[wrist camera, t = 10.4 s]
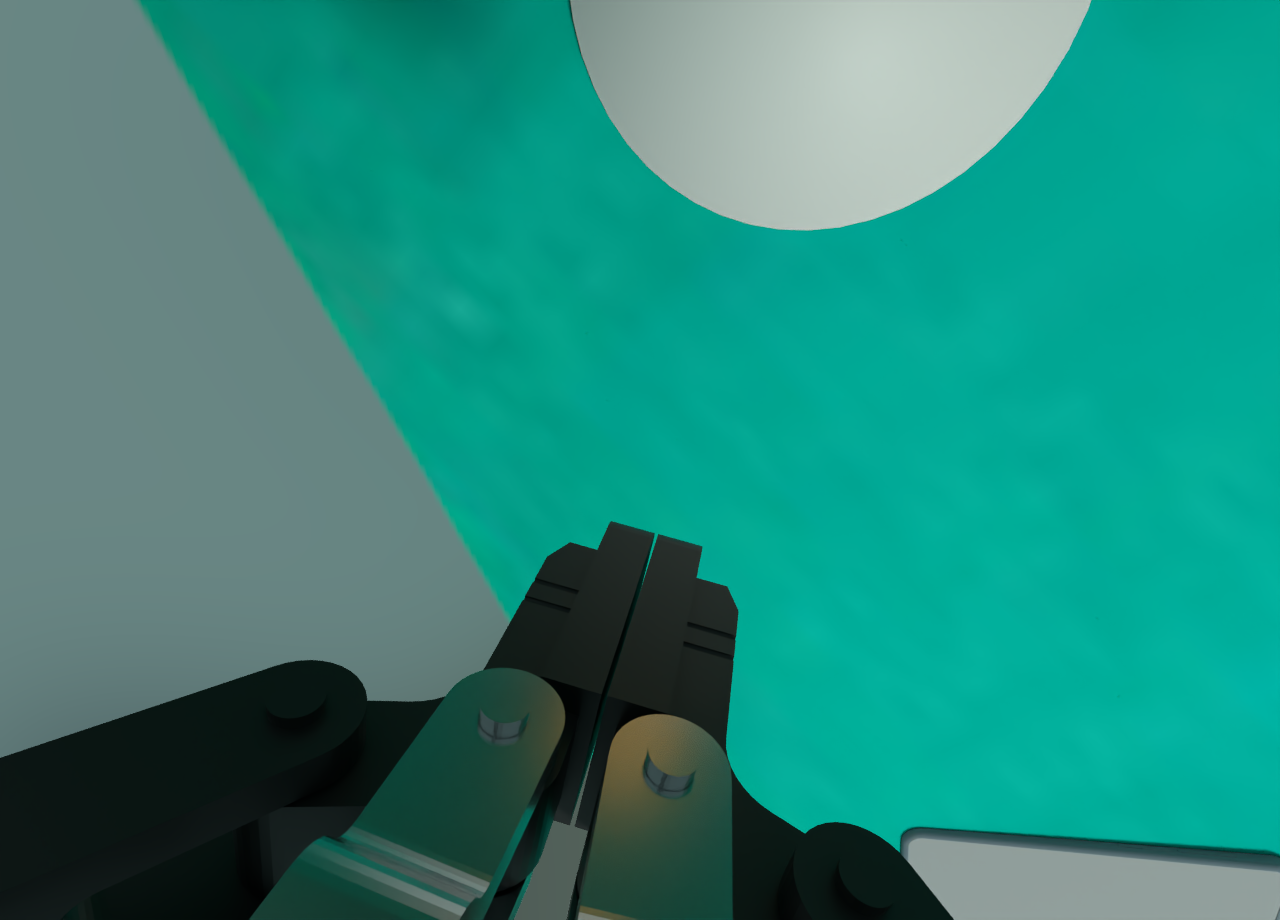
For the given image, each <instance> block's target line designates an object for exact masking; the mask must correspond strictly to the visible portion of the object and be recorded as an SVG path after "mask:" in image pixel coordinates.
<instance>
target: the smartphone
mask: <svg viewBox="0 0 1280 920" xmlns="http://www.w3.org/2000/svg"><path fill="white" fill-rule="evenodd" d="M901 855H902V856H903V857H904V858H905V859H906V860H907V861H908V862H909V864H910V865H911V866H912V867H913V869H914V870H915V871H916V872H917V874H918V875H919V876H920V877H921V879H922V880H923V881H924V882H925V884H926V885H927V886H928V887H929V889H930V890H931V891H932V892H933V894H934V895H935V896H936V897H937V899H938V900H939V901H940V902H941V904H942V905H943V906H944V907H945V909H946V910H947V911H948V912H949V914H950V915H951V916H952V917H953V919H954V920H1280V858H1279V857H1277V856H1273V855H1263V854H1251V853H1238V852H1225V851H1213V850H1200V849H1187V848H1175V847H1162V846H1150V845H1137V844H1122V843H1111V842H1098V841H1085V840H1072V839H1059V838H1046V837H1033V836H1020V835H1007V834H994V833H981V832H968V831H955V830H942V829H929V828H915V829H911V830H909V831H907V832H906V833H905V834H904V835H903V836H902V839H901Z"/></svg>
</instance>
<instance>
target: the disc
mask: <svg viewBox="0 0 1280 920" xmlns="http://www.w3.org/2000/svg"><path fill="white" fill-rule="evenodd" d="M570 1H571V9H572V16H573V22H574V26H575V30H576V34H577V38H578V42H579V46H580V50H581V54H582V57H583V60H584V62H585V65H586V68H587V70H588V73H589V76H590V78H591V81H592V84H593V86H594V89H595V91H596V93H597V94H598V96H599V98H600V100H601V102H602V104H603V106H604V108H605V110H606V112H607V114H608V116H609V118H610V119H611V121H612V122H613V124H614V125H615V126H616V128H617V129H618V131H619V132H620V134H621V135H622V137H623V138H624V140H625V141H626V143H627V144H628V145H629V146H630V147H631V149H632V150H633V151H634V152H635V153H636V154H637V155H638V156H639V158H640V159H641V160H642V161H643V162H644V163H645V164H646V166H647V167H648V168H650V169H651V170H652V171H653V172H654V173H655V174H656V175H658V176H659V177H660V178H661V179H662V180H663V181H665V182H666V183H667V184H668V185H669V186H670V187H672V188H673V189H675V190H676V191H678V192H679V193H681V194H682V195H684V196H685V197H687V198H688V199H690V200H692V201H693V202H695V203H696V204H699V205H701V206H703V207H705V208H707V209H709V210H711V211H713V212H715V213H717V214H720V215H722V216H725V217H728V218H731V219H734V220H737V221H741V222H744V223H747V224H751V225H757V226H762V227H768V228H774V229H786V230H816V229H826V228H836V227H843V226H847V225H851V224H855V223H860V222H864V221H868V220H872V219H875V218H877V217H880V216H883V215H886V214H888V213H891V212H894V211H896V210H899V209H902V208H904V207H906V206H908V205H910V204H912V203H914V202H916V201H918V200H920V199H922V198H923V197H925V196H927V195H929V194H931V193H933V192H935V191H936V190H938V189H939V188H941V187H942V186H944V185H945V184H947V183H948V182H950V181H951V180H953V179H954V178H956V177H957V176H959V175H960V174H962V173H963V172H965V171H966V170H967V169H968V168H969V167H971V166H972V165H973V164H974V163H975V162H977V161H978V160H979V159H980V158H981V157H983V156H984V155H985V154H986V153H987V152H988V151H990V150H991V149H992V148H993V147H994V146H995V145H996V144H997V143H998V142H999V141H1000V140H1001V139H1002V138H1003V137H1004V136H1005V135H1006V134H1007V133H1008V132H1009V131H1010V129H1011V128H1012V127H1013V126H1014V125H1015V124H1016V123H1017V122H1018V121H1019V120H1020V119H1021V118H1022V116H1023V115H1024V114H1025V113H1026V111H1027V110H1028V109H1029V107H1030V106H1031V105H1032V104H1033V102H1034V101H1035V100H1036V98H1037V97H1038V96H1039V95H1040V93H1041V92H1042V91H1043V89H1044V88H1045V87H1046V85H1047V84H1048V82H1049V80H1050V79H1051V77H1052V76H1053V74H1054V72H1055V71H1056V69H1057V68H1058V66H1059V64H1060V63H1061V61H1062V59H1063V58H1064V56H1065V55H1066V53H1067V51H1068V50H1069V48H1070V46H1071V44H1072V41H1073V39H1074V37H1075V35H1076V33H1077V31H1078V29H1079V27H1080V25H1081V23H1082V21H1083V19H1084V17H1085V15H1086V13H1087V10H1088V8H1089V5H1090V2H1091V0H570Z"/></svg>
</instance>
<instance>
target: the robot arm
mask: <svg viewBox="0 0 1280 920" xmlns="http://www.w3.org/2000/svg"><path fill="white" fill-rule="evenodd" d="M654 534H655V533H652V532H648V531H644V530H641V529H637V528H634V527H630V526H627V525H623V524H619V523H616V522H612V521H611V522H610V523H609V525H608V528H607V530H606V532H605V534H604V537H603V539H602V541H601V543H600V545H599V548H598V550H595V549H592V548H588V547H585V546H581V545H578V544H574V543H571V542H570V543H568V544H567V545H565V546H563V547H562V548H560V549H559V550H557V551H556V552H554V553H552V554H551V555H549V556H548V557H547V558H546V560H545V562H544V563H543V565H542V567H541V569H540V570H539V572H538V574H537V576H536V578H535V581H534V582H533V583H532V585H531V586H530V588H529V590H528V592H527V594H526V595H525V599H524V600H523V601H522V602H521V604H520V606H519V608H518V610H517V611H516V613H515V615H514V617H513V618H512V620H511V622H510V624H509V626H508V627H507V629H506V631H505V633H504V635H503V637H502V638H501V640H500V642H499V644H498V645H497V647H496V649H495V651H494V652H493V654H492V656H491V658H490V659H489V661H488V663H487V665H486V667H485V668H484V670H483V671H479V672H477V673H474V674H471V675H469V676H467V677H466V678H464V679H462V680H461V681H460V682H458V683H457V684H456V685H455V686H454V687H453V688H452V689H451V690H450V691H449V693H448V694H447V695H446V696H445V697H442V698H438V699H435V700H427V701H415V702H401V701H400V702H398V701H367V696H366V690H365V688H364V686H363V684H362V682H361V681H360V680H359V678H358V677H357V676H356V675H355V674H353V673H352V672H351V671H349V670H348V669H346V668H344V667H342V666H339V665H337V664H334V663H330V662H324V661H316V660H305V661H295V662H288V663H284V664H281V665H277V666H274V667H271V668H268V669H265V670H262V671H259V672H256V673H253V674H250V675H247V676H244V677H241V678H238V679H235V680H232V681H229V682H226V683H223V684H220V685H217V686H214V687H211V688H208V689H205V690H202V691H199V692H196V693H193V694H190V695H187V696H184V697H181V698H178V699H175V700H172V701H169V702H166V703H163V704H160V705H157V706H154V707H151V708H148V709H145V710H142V711H139V712H136V713H133V714H130V715H127V716H124V717H122V718H119V719H115V720H112V721H110V722H106V723H103V724H100V725H98V726H94V727H92V728H88V729H85V730H83V731H79V732H77V733H74V734H70V735H68V736H64V737H61V738H59V739H56V740H52V741H49V742H46V743H44V744H40V745H38V746H35V747H31V748H29V749H26V750H23V751H20V752H17V753H14V754H11V755H8V756H5V757H2V758H0V920H514V918H515V916H516V914H517V911H518V909H519V907H520V904H521V902H522V900H523V897H524V895H525V892H526V890H527V888H528V885H529V883H530V880H531V877H532V874H533V869H534V868H535V866H536V865H537V864H538V862H539V859H540V857H541V855H542V852H543V849H544V846H545V843H546V840H547V837H548V834H549V831H550V828H551V825H552V823H553V820H554V821H557V822H561V823H564V824H567V825H570V823H571V819H572V816H573V813H574V810H575V807H576V804H577V800H578V797H579V794H580V791H581V787H582V784H583V781H584V778H585V775H586V771H587V768H588V765H589V762H590V759H591V755H592V752H593V755H592V759H591V763H590V768H589V772H588V776H587V780H586V784H585V788H584V792H583V796H582V800H581V804H580V808H579V812H578V816H577V820H576V824H575V827H578V828H581V829H584V830H587V831H588V833H587V837H586V841H585V845H584V849H583V853H582V856H581V860H580V864H579V869H578V872H577V876H576V879H575V884H574V887H573V891H572V895H571V899H570V904H569V910H568V914H567V919H566V920H954V919H953V917H952V916H951V915H950V914H949V912H948V911H947V910H946V909H945V907H944V906H943V905H942V904H941V902H940V901H939V900H938V899H937V897H936V896H935V895H934V894H933V892H932V891H931V890H930V889H929V887H928V886H927V885H926V884H925V882H924V881H923V880H922V879H921V877H920V876H919V875H918V874H917V872H916V871H915V870H914V869H913V867H912V866H911V865H910V864H909V862H908V861H907V860H906V859H905V858H904V857H903V856H902V855H901V854H900V853H899V852H898V851H897V850H896V849H895V848H894V847H893V846H892V845H890V844H889V843H888V842H886V841H885V840H884V839H882V838H881V837H879V836H877V835H876V834H874V833H872V832H870V831H868V830H866V829H864V828H861V827H859V826H855V825H851V824H848V823H839V822H832V823H824V824H821V825H817V826H815V827H814V828H812V829H810V830H809V831H808V832H807V833H803V832H801V831H800V830H798V829H797V828H795V827H793V826H792V825H790V824H789V823H787V822H786V821H784V820H782V819H781V818H779V817H778V816H776V815H775V814H773V813H771V812H770V811H769V810H767V809H766V808H764V807H763V806H762V805H760V804H759V803H758V802H757V801H756V800H755V799H754V798H753V797H751V796H750V794H749V793H748V792H747V791H746V790H745V789H744V788H743V786H742V785H741V783H740V782H739V781H738V779H737V778H736V776H735V774H734V772H733V770H732V768H731V766H730V763H729V760H728V757H727V751H726V734H727V724H728V713H729V703H730V693H731V682H732V672H733V662H734V661H733V658H734V652H735V641H736V640H735V637H736V631H737V621H738V609H737V607H736V605H735V603H734V600H733V598H732V596H731V594H730V592H729V589H728V587H727V586H723V585H720V584H716V583H713V582H709V581H706V580H702V579H699V578H696V577H697V572H698V567H699V562H700V557H701V552H702V546H699V545H695V544H692V543H688V542H685V541H681V540H677V539H674V538H670V537H667V536H663V535H659V534H658V537H657V540H656V543H655V546H654V550H653V553H652V556H651V559H650V562H649V565H648V569H647V572H646V575H645V571H646V567H647V563H648V559H649V555H650V551H651V547H652V543H653V539H654ZM644 575H645V578H644ZM643 579H644V581H643ZM642 583H643V584H642ZM641 587H642V588H641ZM595 742H596V743H595ZM594 746H595V747H594ZM593 749H594V751H593Z"/></svg>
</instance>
